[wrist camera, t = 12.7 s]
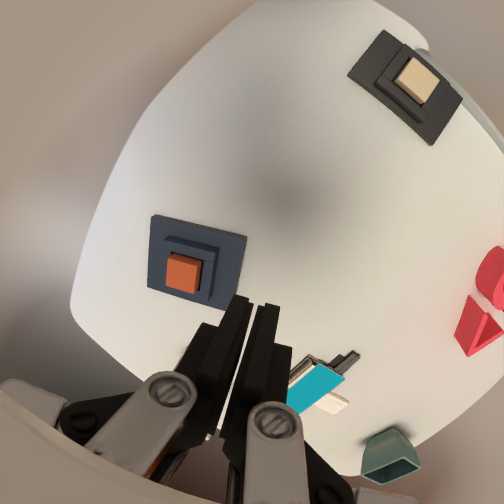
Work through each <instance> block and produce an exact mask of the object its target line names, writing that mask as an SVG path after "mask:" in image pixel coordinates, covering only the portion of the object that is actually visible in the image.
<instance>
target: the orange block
mask: <svg viewBox="0 0 504 504" xmlns="http://www.w3.org/2000/svg"><path fill="white" fill-rule="evenodd" d="M201 266H202V261H201V260H197V259H194V258H190V257H186V256H183V255H179V254H175V253H174V254H172V255H171V256H170V257H169V258H168V262H167V275H166V286H169V287H172V288H175V289H178V290H182V291H185V292H188V293H192V294H194V293H195V292H196V290H197V289H198V288H199V281H200V273H201Z"/></svg>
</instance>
